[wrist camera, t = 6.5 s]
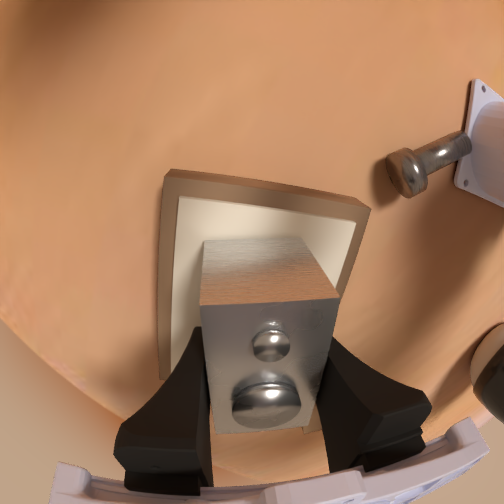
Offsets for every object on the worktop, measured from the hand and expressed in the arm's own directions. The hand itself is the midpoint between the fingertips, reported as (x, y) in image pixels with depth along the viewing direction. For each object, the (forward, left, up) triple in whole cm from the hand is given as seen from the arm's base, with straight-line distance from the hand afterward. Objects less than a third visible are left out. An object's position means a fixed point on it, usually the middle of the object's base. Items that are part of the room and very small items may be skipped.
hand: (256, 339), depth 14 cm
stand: (0, 0, -4) cm, 4 cm away
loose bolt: (-10, -10, -4) cm, 15 cm away
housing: (0, -1, -2) cm, 2 cm away
